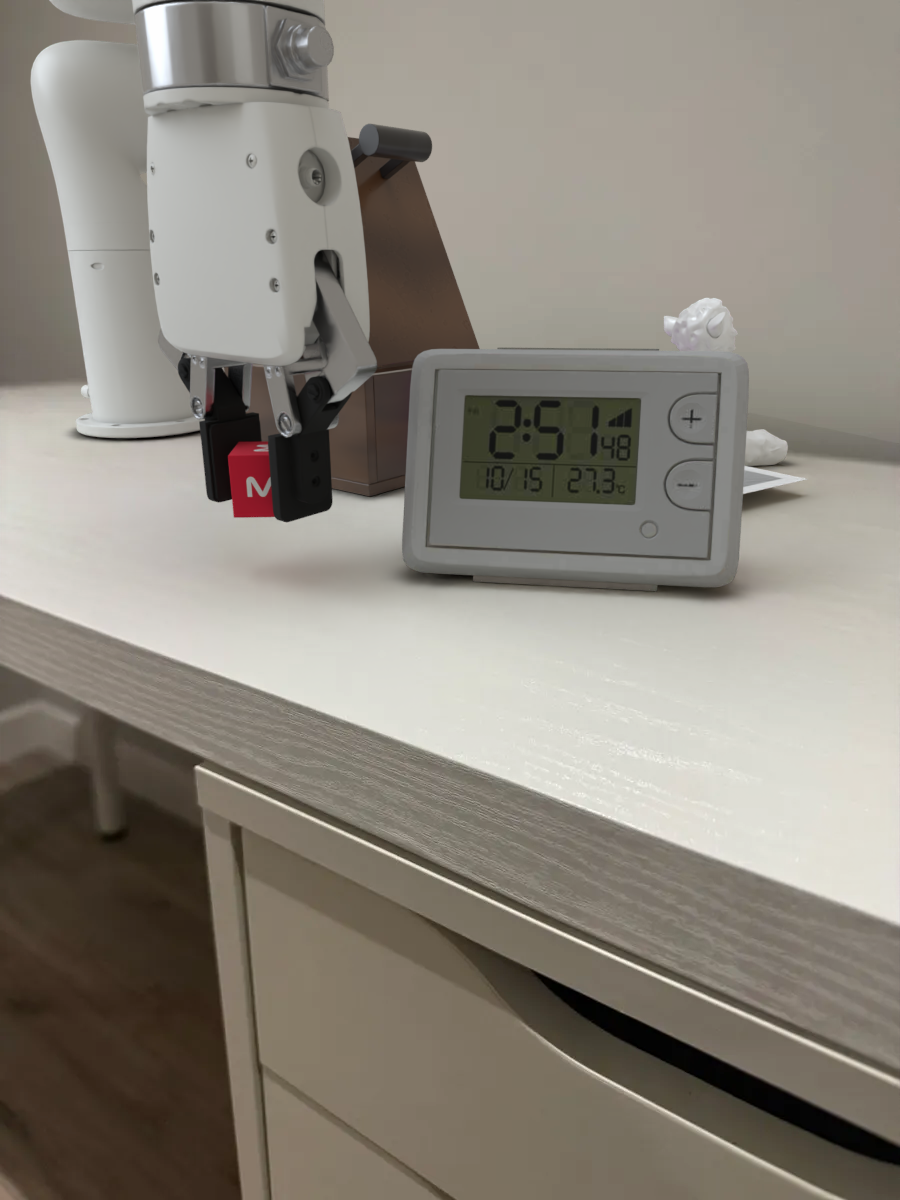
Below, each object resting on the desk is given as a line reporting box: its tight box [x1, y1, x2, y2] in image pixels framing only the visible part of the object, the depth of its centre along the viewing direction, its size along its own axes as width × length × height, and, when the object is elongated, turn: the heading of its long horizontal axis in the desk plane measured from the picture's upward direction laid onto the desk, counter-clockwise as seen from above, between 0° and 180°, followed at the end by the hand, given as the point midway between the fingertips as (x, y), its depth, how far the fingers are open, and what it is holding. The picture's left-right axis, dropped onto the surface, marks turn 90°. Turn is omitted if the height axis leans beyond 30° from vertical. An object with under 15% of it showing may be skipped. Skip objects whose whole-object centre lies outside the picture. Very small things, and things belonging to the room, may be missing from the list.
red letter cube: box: [228, 441, 275, 519], centre depth 43 cm, size 3×3×3 cm
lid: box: [347, 123, 481, 369], centre depth 58 cm, size 15×12×5 cm
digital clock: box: [401, 347, 750, 592], centre depth 42 cm, size 16×9×11 cm, turn 69°
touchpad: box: [743, 466, 809, 495], centre depth 57 cm, size 8×15×2 cm, turn 125°
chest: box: [223, 355, 413, 497], centre depth 66 cm, size 15×12×8 cm
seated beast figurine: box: [663, 297, 789, 467], centre depth 66 cm, size 10×9×12 cm
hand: (269, 501), depth 43 cm, fingers closed on red letter cube, 4 cm apart
